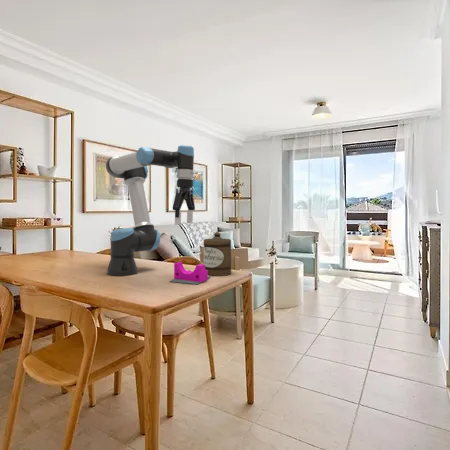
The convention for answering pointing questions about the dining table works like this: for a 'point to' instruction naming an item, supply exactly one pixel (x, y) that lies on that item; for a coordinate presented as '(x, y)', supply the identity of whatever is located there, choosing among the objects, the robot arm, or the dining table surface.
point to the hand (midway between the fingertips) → (183, 224)
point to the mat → (186, 281)
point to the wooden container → (217, 255)
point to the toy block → (190, 273)
